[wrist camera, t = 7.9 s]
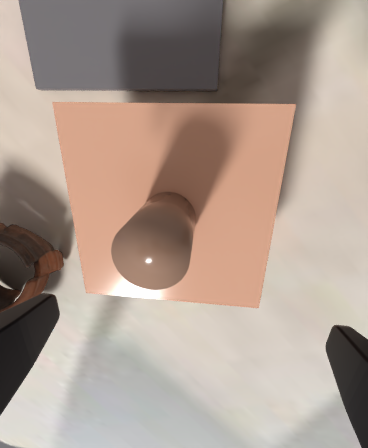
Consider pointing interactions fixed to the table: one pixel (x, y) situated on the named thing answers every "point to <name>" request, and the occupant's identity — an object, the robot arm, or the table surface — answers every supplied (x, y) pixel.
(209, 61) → the mat
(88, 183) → the lid
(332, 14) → the table surface
